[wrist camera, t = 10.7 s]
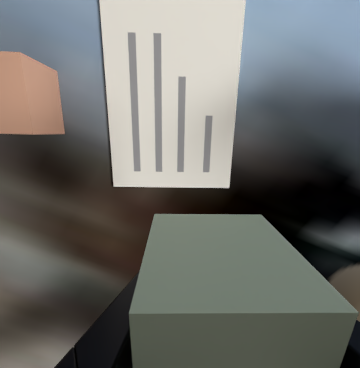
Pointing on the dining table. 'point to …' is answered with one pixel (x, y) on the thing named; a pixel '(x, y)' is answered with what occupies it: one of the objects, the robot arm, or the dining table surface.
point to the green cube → (233, 299)
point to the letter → (172, 90)
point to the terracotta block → (28, 96)
